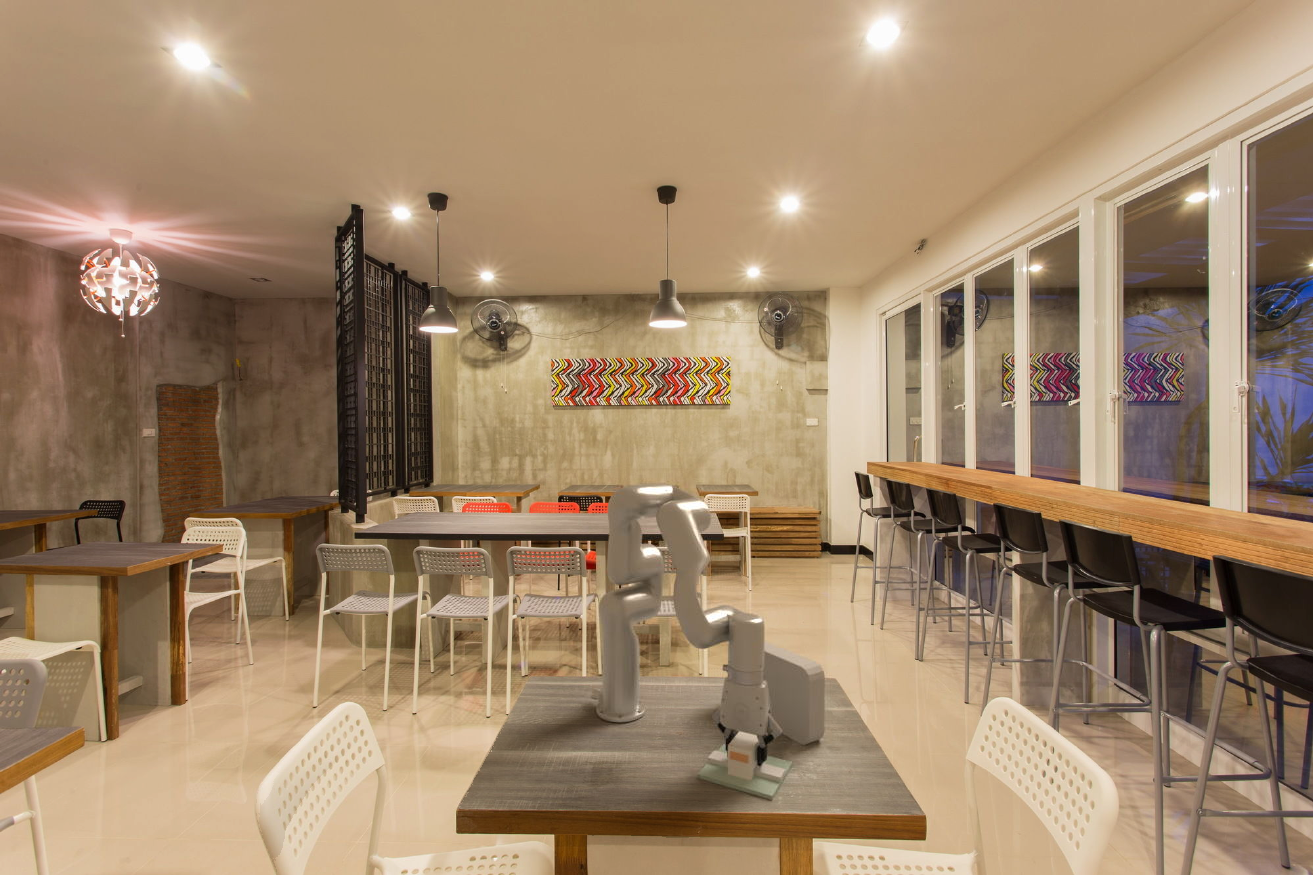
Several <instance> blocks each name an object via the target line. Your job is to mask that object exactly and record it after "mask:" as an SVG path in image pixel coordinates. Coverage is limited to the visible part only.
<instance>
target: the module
mask: <svg viewBox="0 0 1313 875" xmlns="http://www.w3.org/2000/svg"><path fill="white" fill-rule="evenodd" d="M735 735H736V736H735V737H734V738H733V740H732V741H731V742H730V743H729V745H728V774H729V775H733V776H736V777H740V778H743V779H747V780H750V781H751V780H752V778H753V777H754V769H755V767H756V766H757V747H758V746H759V742H758V739H757V736H756V735H753V734H748V733H744V732H740V731H737V734H735Z"/></svg>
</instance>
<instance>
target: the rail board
mask: <svg viewBox="0 0 1313 875" xmlns="http://www.w3.org/2000/svg"><path fill="white" fill-rule="evenodd" d="M792 767H793V761H790V760H786V759H782V758H778V757H773V756H769V755H767V759H766V761H764V762H763V764H762V765H761V767H760V766H758V765H757V766H756V767H755V769H754V777H753V778H752V780H751V781H750V780H747V779H743V778H740V777H736V776H733V775H729V774H728V758H727V751H726V743H725V744H724V743H723V744H722V745H721V746H720V747H719V749H718V750H713V751H712V752H711V753H710V755H709V756H708V757H707V763H706V764H705V765H704V767H702V769H701V770H700V771H699V772H698V773H697V778H698V779H700V780H703V781H707V782H710V783H715V784H716V785H717V784H718V785H720V786H724V787H726V788H731V789H735V790H737V791H742V792H745V793H747V794H751V795H754V796H758V797H762V798H765V799H766V800H767V799H769V800H771V801H773V800H774V798H775V797H776V795H777V793H778V791H779V790H780V789H781V786H782V784H783V783H784V781H785V779H786V778H787V776H788V774H789V772H790V770H791V769H792Z"/></svg>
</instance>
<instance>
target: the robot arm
mask: <svg viewBox="0 0 1313 875" xmlns="http://www.w3.org/2000/svg"><path fill="white" fill-rule="evenodd" d="M652 518H655V519H656V524H657V527H658V529H659V532H660V533H661V537H662V540H663V542H664V544H665V546H666V549H667V552H668V554H669V556H670V559H671V563H672V564H673V566H674V569H675V579H674V583H673V593H672V594H673V597H672V598H673V601H672V602H673V608H674V612H675V615H676V618H677V621H678V622H679V623H678V624H679V625H680V628H681V631H682V633H683V635H684V637H685V638H686V640H687V641H688V643H689V644H690V645H691V646H693V647H694V648H696V649H700V650H705V649H709V648H711V647H714V646H716V645H720V644H722V643H726V642H728V644H729V664H728V663H724V664H722V671H724V672H725V673H727V676H726V677H725V678H724V680H723V686H722V692H721V698H720V699H721V702H720V707H719V708H718V709H717V710H716V711H715V712H714V713H713V714H711V719H712V720H713V721H714V723H715V724H716V725H717V727H718V729H719V730H720V731H721V733H722V734H723V735H722V737H723V738H724V739H725V745H726V751H727V758H728V745H729V743H730V742H731V741H732V740H733V738H734V737H735V736H736V735H737V734H736V733H734V731H737V732H739V731H740V732H744V733H748V734H753V735H756V736H757V739H758V742H759V746H758V747H757V765H758V766H760V767H761V765H762V764H763V762H764V761H766V759H767V756H768V745H769V744H770V743H772V742H773V741H774V740H775V739H776V738H778V737H779V736H781V735H782V729H781V727H780V726H779V725H778V723H777V722H776V721H775V720H774V718H773V717H772V716H771V704H770V695H769V689H768V685H767V681H765V680H764V641H765V622H764V620H763V618H762V617H761V616H759V615H758V614H753V613H748V612H744V611H742V610H740V609H738V608H736V607H734V606H731V605H727V604H722V605H718V606H714V607H712V608H711V607H710V608H709V609H708V608H707V609H705V610H703V608H702V606H701V603H700V599H699V595H698V590H697V589H698V583H699V582H698V581H699V579H700V576H701V574H702V572H703V571H704V570H705V568H706V567H707V566H708V565H709V564H710V562H711V555H710V553H709V551H708V549H707V547H706V543H705V541H704V539H703V537H702V535H701V533H703V532H704V531H706V530H707V529H708V528H709V527H710V526H711V525H710V524H711V521H712V515H711V511H710V509H709V506H708V505H707V504H706V503H705V502H704V501H703V500H702V499H701V498H699V497H697V496H695V495H693V494H691V493H689V492H687V491H685V490H683V489H681V488H679V487H677V486H675V485H673V484H670V483H662V482H661V483H660V482H659V483H644V484H633V485H628V486H627V485H626V486H623V487H620V488H618V489H617V490H616V491H614V492H613V493H612V494H611V496H610V498H609V500H608V504H607V519H608V529H609V530H608V531H609V532H608V547H607V559H606V560H607V562H606V568H607V569H606V573H607V574H606V575H607V577H608V580H609V581H610V582H611V583H612V584H614V585H617V586H624V585H629V586H625V587H621V588H617V589H612V590H610V591H609V592H607V593H605V594H604V595H603V596H602V597H601V598H600V601H599V603H598V615H599V619H600V620H599V621H600V626H601V635H602V641H601V642H602V689H601V688H598V687H593V688H592V690H591V695H590V698H591V700H597V702H598V704H597V706H596V708H595V710H596V711H595V712H596V715H597V716H598V717H599V718H601V719H602V720H603V721H607V722H611V723H612V722H613V723H628V722H633V721H636V720H638V719H640V718H641V717H643V716H644V715H645V713H646V705H645V703H644V702H643V701H641V699H640V640H639V637H638V635H637V633H636V632H635V630H634V626H633V625H635V624H638V623H640V622H644V621H647V620H650V619H653V618H654V617H655V616H657V615H658V614H659V612H660V610H661V607H662V601H663V587H664V574H665V573H664V571H665V565H664V564H665V563H664V558H663V556H662V553H661V551H660V549H658V547H656V546H655V545H654V544H651V543H642V540H643V531H642V526H641V524H640V522H639V520H642V519H652ZM631 584H634V585H631ZM769 728H771V730H772V731H771V732H769V733H768V729H769Z"/></svg>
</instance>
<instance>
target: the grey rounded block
mask: <svg viewBox="0 0 1313 875" xmlns="http://www.w3.org/2000/svg"><path fill="white" fill-rule="evenodd" d="M727 664H729V643H728V644H727ZM825 679H826V678H825V670H824V669H823V668H822V665H820V664H819V663H818V662H816V661H815V660H812V659H810V658H808V657H807V658H806V657H805V656H802V655H800V654H798V653H795V652H794V651H793V652H792V651H790V650H787V649H786V648H782V647H780V646H777V645H776V644H772V643H770V642H767V641H766V640H764V680H765V681H767V685H768V689H769V695H770V704H771V716H772V717H773V718H774V720H775V721H776V722H777V723H778V725H779V726H780V727H781V729H782V733H781V735H782V734H783V735H785V737H788V738H790V739H791V740H792V741H795V742H797V743H798V744H800V745H804V746H805V745H808V744H811V743H813V742H815V741H818V740H821V739H822V738H824V735H825V723H826V722H825V721H826V720H825V718H826V717H825V716H826V715H825V710H826V709H825V707H826V706H825V704H826V703H825V702H826V700H825V699H826V698H825V697H826V696H825V695H826V693H825V692H826V689H825V686H826V680H825Z"/></svg>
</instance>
